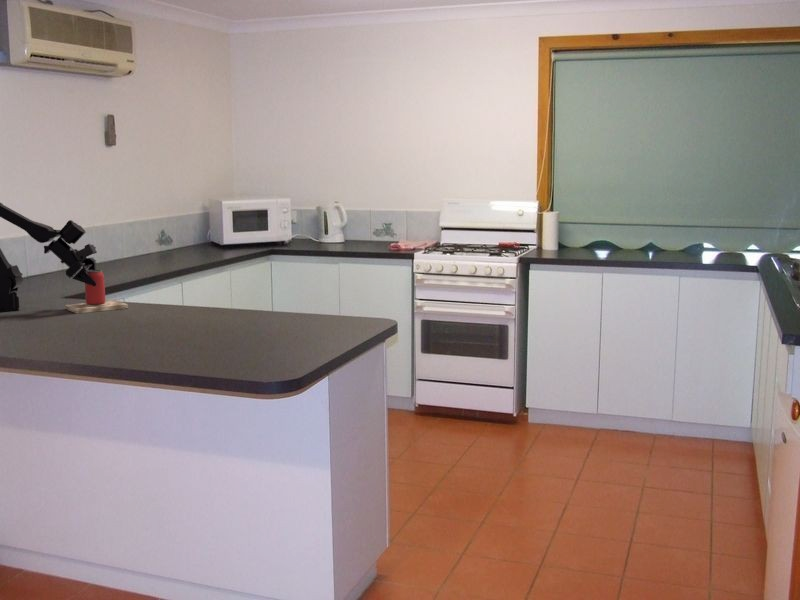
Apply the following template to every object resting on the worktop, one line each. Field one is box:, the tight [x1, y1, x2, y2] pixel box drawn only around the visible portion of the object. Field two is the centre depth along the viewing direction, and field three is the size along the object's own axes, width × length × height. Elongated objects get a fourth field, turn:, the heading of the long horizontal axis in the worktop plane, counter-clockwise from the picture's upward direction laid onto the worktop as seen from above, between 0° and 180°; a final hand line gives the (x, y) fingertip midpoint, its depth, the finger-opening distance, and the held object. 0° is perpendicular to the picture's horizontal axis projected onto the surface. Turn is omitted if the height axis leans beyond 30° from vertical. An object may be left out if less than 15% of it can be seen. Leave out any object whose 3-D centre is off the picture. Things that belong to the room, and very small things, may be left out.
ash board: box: [64, 300, 129, 314], centre depth 303 cm, size 18×13×2 cm
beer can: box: [84, 269, 106, 305], centre depth 302 cm, size 7×7×12 cm
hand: (99, 283), depth 302 cm, fingers open, 9 cm apart
